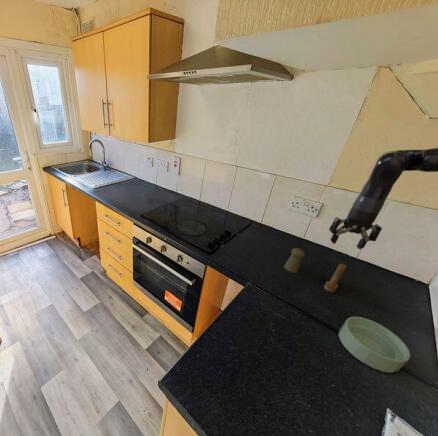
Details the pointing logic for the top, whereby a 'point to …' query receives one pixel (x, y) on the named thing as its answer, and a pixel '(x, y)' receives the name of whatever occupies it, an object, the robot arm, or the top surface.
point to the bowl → (374, 344)
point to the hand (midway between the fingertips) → (345, 245)
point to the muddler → (335, 278)
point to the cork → (294, 260)
